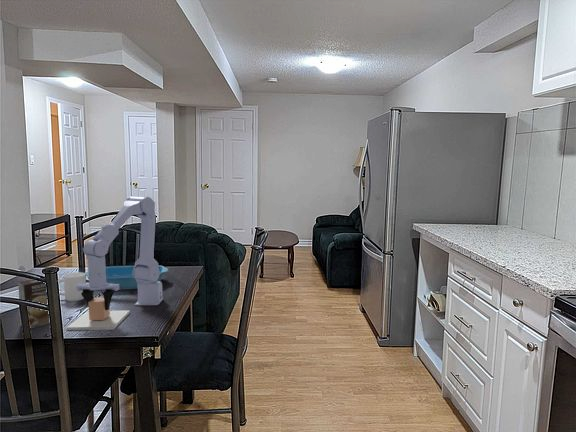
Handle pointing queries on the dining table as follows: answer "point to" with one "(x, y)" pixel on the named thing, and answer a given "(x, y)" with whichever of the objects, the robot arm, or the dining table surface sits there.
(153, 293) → the robot arm
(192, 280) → the dining table surface
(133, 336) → the dining table surface
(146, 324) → the dining table surface
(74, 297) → the mug
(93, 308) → the tan rectangular block
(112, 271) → the casserole dish
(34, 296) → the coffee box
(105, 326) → the white board
